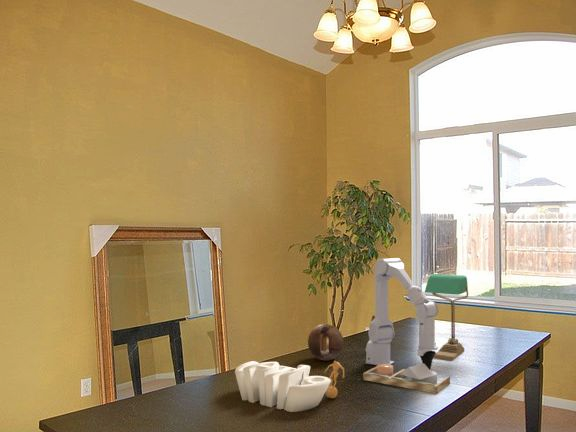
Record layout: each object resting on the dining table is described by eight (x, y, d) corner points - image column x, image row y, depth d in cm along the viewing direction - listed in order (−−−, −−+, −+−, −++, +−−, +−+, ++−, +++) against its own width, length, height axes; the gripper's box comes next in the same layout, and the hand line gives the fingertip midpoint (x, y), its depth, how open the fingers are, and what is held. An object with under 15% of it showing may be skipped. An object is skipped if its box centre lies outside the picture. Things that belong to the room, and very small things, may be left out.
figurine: (318, 396, 178) (318, 360, 178) (329, 392, 182) (329, 357, 183) (337, 402, 172) (337, 365, 172) (348, 398, 177) (348, 361, 177)
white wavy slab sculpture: (222, 395, 180) (222, 364, 180) (254, 383, 193) (254, 354, 193) (307, 418, 159) (307, 382, 159) (336, 403, 172) (336, 370, 172)
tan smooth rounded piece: (374, 378, 199) (374, 366, 199) (381, 374, 204) (381, 362, 204) (389, 381, 196) (389, 368, 196) (395, 377, 200) (395, 365, 201)
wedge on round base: (419, 389, 186) (441, 382, 194) (419, 370, 186) (441, 363, 194) (399, 383, 193) (421, 376, 201) (399, 364, 193) (421, 358, 201)
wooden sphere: (317, 353, 236) (317, 320, 236) (348, 358, 229) (348, 323, 229) (301, 361, 223) (301, 325, 223) (335, 366, 215) (334, 329, 216)
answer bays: (363, 379, 197) (363, 372, 197) (379, 370, 209) (379, 364, 209) (436, 393, 181) (436, 385, 181) (450, 383, 193) (450, 375, 193)
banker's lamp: (472, 352, 238) (472, 274, 239) (460, 362, 221) (460, 278, 221) (437, 347, 247) (437, 272, 247) (423, 357, 229) (422, 276, 230)
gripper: (430, 339, 190) (430, 377, 190) (443, 332, 202) (443, 367, 202) (411, 337, 194) (411, 374, 194) (425, 329, 206) (425, 364, 206)
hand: (426, 370), depth 199 cm, fingers closed, pressing on wedge on round base
